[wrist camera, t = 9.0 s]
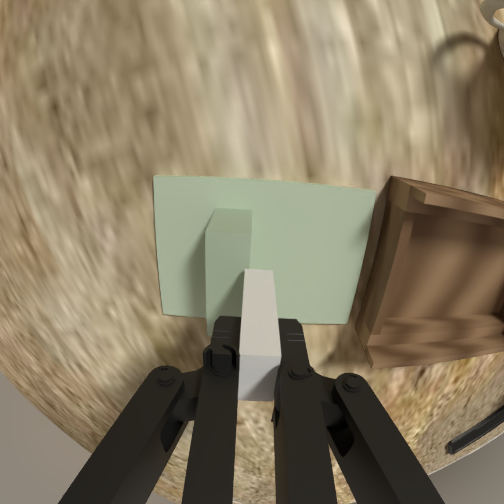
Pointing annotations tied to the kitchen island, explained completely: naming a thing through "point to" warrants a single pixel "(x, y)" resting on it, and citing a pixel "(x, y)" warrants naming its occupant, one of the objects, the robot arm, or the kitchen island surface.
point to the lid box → (435, 278)
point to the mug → (488, 8)
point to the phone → (476, 431)
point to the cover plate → (259, 245)
